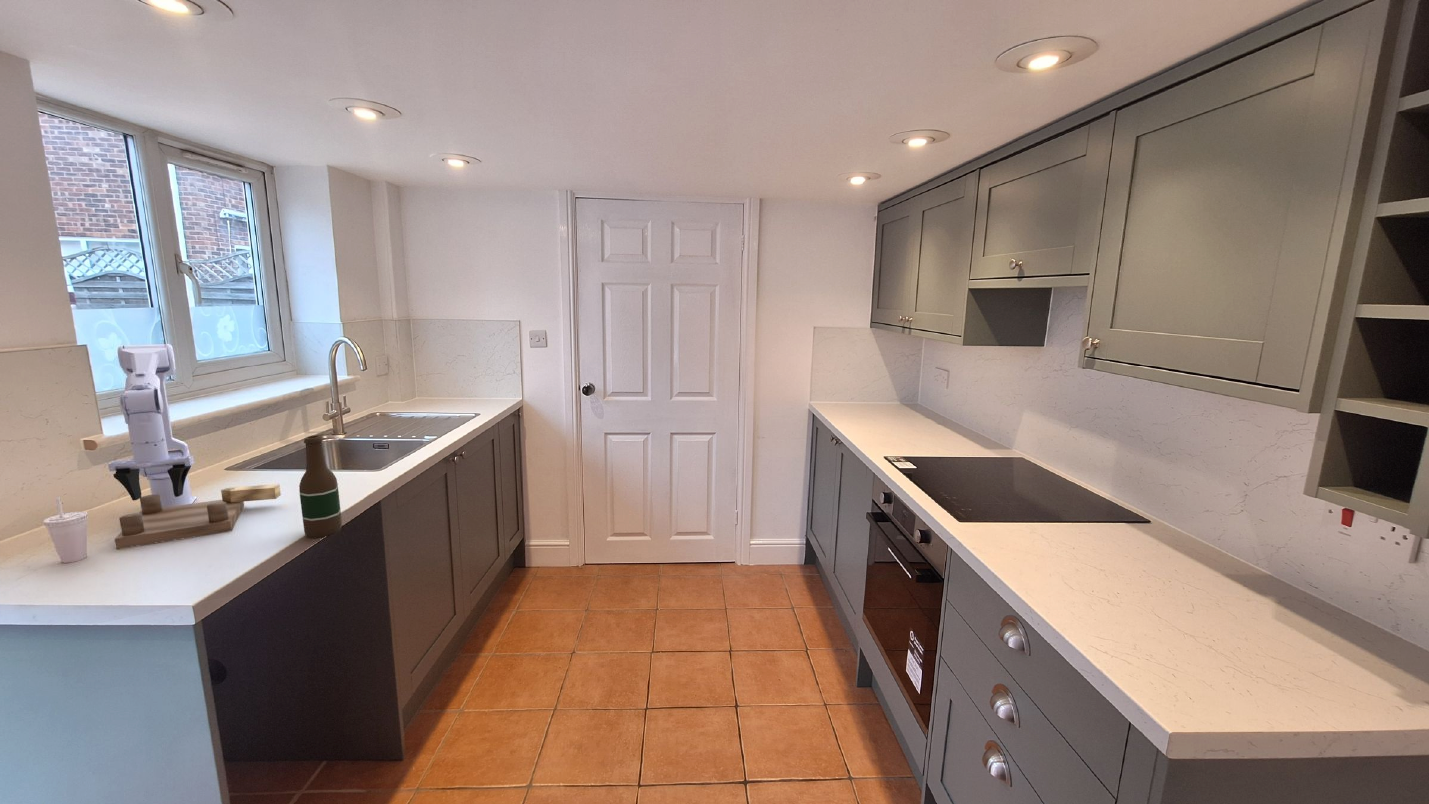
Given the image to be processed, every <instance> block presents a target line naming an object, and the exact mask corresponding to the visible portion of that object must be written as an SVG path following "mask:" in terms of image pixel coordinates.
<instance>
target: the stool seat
mask: <svg viewBox="0 0 1429 804" xmlns="http://www.w3.org/2000/svg"><path fill="white" fill-rule="evenodd" d="M139 502H140V508H141V511H140V512H138V513H137V512H136V513H129V514H125V515H122V516H120V517H119V524H120V530H121V532H120V533H118V534H117V536H115V538H114V543H115V548H116V550H120V548H121V549H126V548H132V547H131V546H133V547H137V545H140V546H145V544H146V545H151V544H156V543H155V542H158V543H163V542H162V541H165V542H168V541H169V542H170V540H171V541H175V540H174V539H177V540H183V539H182V538H184V539H188V538H189V537H190V538H194V537H193V536H196V537H202V536H208V535H214V534H220V533H227V532H232V531H233V529H234V527H235V525H236V523H237V521H238V519H239V517H240V515H241V513H242V511H243V509H244V507H245V501H244V502H228V503H226V502H223V501H222V499H217V500H208V501H201V502H195V503H194V502H193V503H192V504H186V505H178V506H171V507H164V508H162V505H161V499H160V495H159V494H153V495H151V494H147V495H144V496H141V498H139ZM201 535H202V536H201Z"/></svg>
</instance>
